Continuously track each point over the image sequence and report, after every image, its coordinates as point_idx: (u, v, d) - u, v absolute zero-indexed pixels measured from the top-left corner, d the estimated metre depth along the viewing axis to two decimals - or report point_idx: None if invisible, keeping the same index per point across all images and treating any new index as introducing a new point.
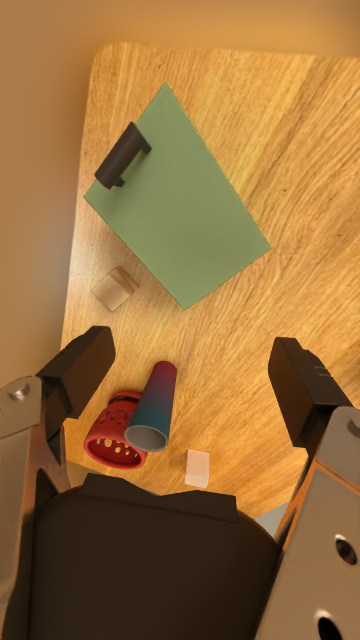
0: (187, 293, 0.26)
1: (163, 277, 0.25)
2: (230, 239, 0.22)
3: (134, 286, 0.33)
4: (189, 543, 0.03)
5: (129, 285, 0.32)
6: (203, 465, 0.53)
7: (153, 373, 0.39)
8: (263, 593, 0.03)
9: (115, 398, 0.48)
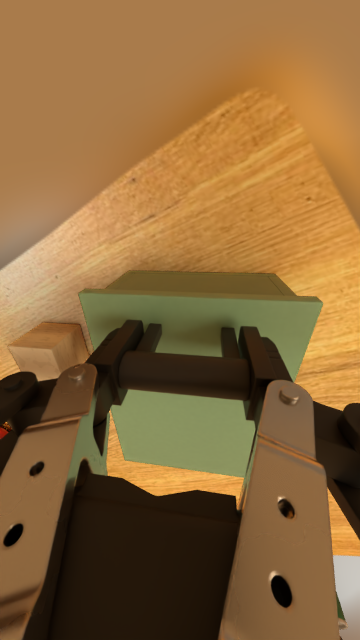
0: (141, 453, 0.18)
1: (125, 429, 0.17)
2: (230, 453, 0.16)
3: (82, 359, 0.23)
4: (189, 543, 0.03)
5: (76, 361, 0.21)
6: None
7: None
8: (263, 593, 0.03)
9: None
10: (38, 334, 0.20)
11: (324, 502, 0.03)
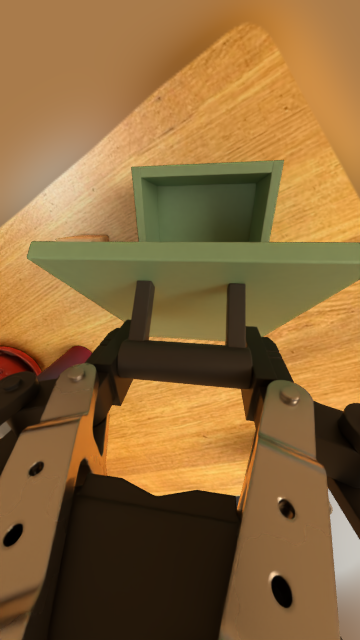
0: (158, 334, 0.23)
1: None
2: None
3: None
4: (189, 543, 0.03)
5: None
6: None
7: (67, 356, 0.33)
8: (263, 593, 0.03)
9: (1, 351, 0.38)
10: (76, 237, 0.25)
11: (325, 503, 0.03)
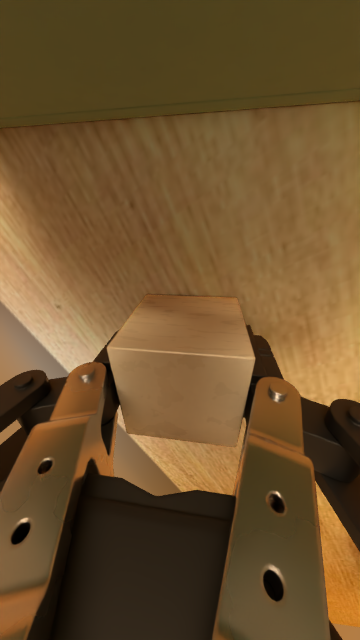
0: None
1: None
2: None
3: (228, 307, 0.09)
4: (189, 543, 0.03)
5: (213, 317, 0.08)
6: None
7: None
8: (263, 593, 0.03)
9: None
10: None
11: (313, 496, 0.03)
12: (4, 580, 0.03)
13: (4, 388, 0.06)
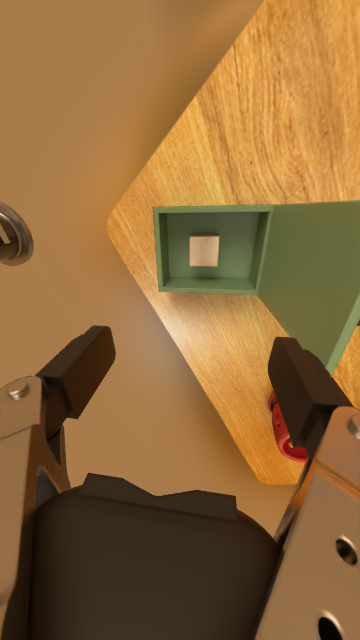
0: None
1: None
2: None
3: (215, 234, 0.33)
4: (189, 543, 0.03)
5: (211, 234, 0.32)
6: None
7: None
8: (263, 593, 0.03)
9: (273, 403, 0.50)
10: None
11: None
12: None
13: None
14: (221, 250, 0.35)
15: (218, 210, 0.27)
